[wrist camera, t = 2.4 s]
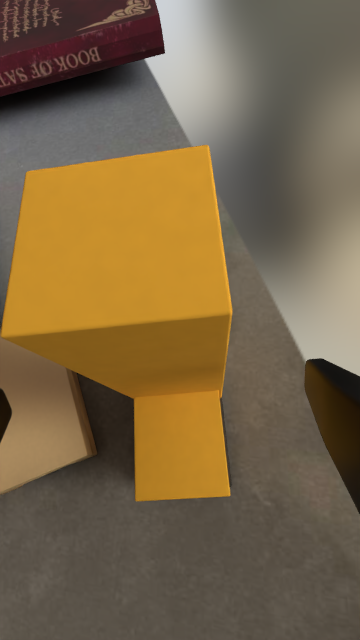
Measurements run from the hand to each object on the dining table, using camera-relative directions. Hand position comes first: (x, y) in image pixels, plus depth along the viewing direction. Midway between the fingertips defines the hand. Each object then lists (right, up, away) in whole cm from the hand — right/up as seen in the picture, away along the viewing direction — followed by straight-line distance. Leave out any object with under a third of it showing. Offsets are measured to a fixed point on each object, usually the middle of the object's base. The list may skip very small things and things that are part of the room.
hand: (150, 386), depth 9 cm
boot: (+1, -3, +10) cm, 10 cm away
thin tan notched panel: (-9, -3, +11) cm, 14 cm away
